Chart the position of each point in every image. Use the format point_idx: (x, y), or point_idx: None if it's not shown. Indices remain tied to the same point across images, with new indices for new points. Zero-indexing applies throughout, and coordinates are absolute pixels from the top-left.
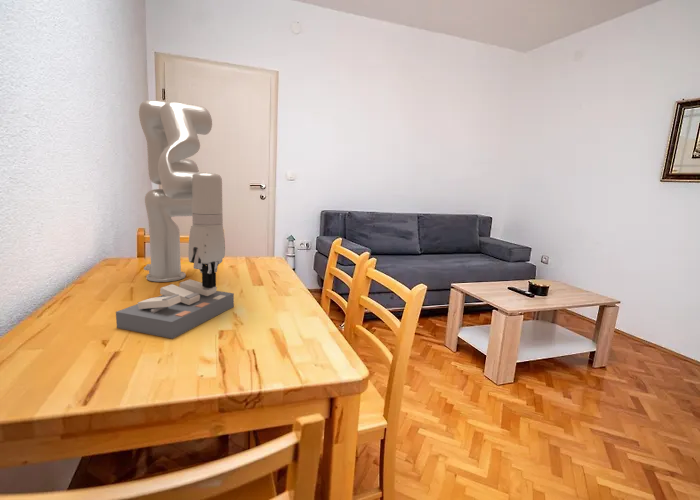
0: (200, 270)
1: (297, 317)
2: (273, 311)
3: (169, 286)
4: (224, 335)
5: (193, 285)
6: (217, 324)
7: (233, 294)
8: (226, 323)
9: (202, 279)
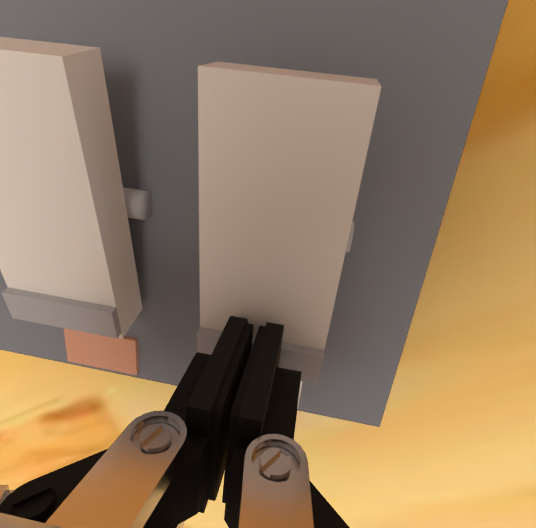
0: (82, 462)
1: None
2: (358, 518)
3: (2, 80)
4: (69, 423)
5: (223, 230)
6: None
7: (376, 420)
8: (164, 397)
9: (211, 355)
